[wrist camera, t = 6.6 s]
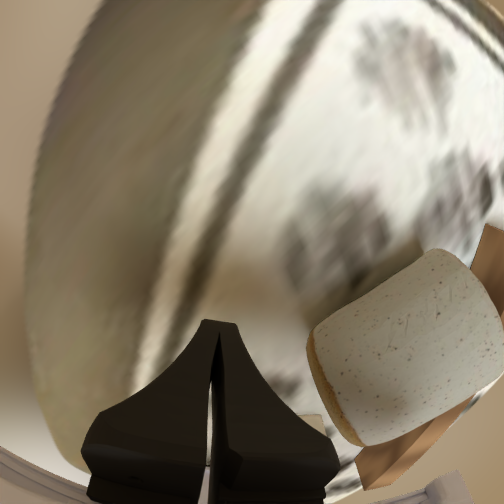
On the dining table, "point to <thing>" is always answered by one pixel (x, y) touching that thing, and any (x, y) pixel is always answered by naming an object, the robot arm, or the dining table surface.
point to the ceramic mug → (407, 350)
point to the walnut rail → (423, 437)
